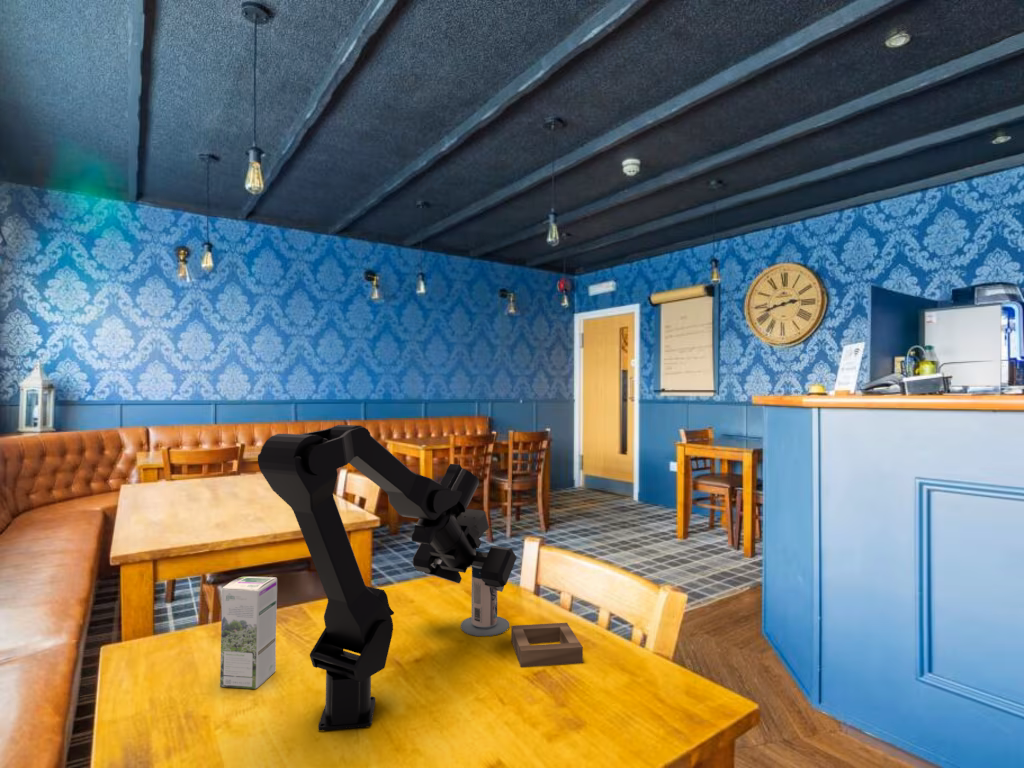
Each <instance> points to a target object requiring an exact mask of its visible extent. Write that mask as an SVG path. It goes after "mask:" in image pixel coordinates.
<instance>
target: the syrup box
mask: <svg viewBox="0 0 1024 768" xmlns="http://www.w3.org/2000/svg"><path fill="white" fill-rule="evenodd" d="M277 603H278V578H277V577H273V576H269V577H268V576H245V575H244V576H241V577H238V578H236V579H233V580H232V581H230V582H229V583H227V584H225V585H224V586H223V587H222V589H221V620H220V621H221V623H220V624H221V626H220V628H221V629H220V631H221V632H220V633H221V634H220V673H219V674H220V675H219V677H220V678H219V681H220V683H219V687H221V688H233V689H235V688H237V689H251V690H254V689H255V690H256V689H258V688H259V687H260V686H261V685H263V684H264V682H266V681H267V680H268V679H269V678H270V677H271V676H272V675H273V674H274V673H276V670H277V668H276V665H277V663H276V661H277V659H276V657H277V655H276V651H277V650H276V647H277V645H276V643H277V605H278V604H277Z"/></svg>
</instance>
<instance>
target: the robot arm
mask: <svg viewBox="0 0 1024 768" xmlns="http://www.w3.org/2000/svg"><path fill="white" fill-rule="evenodd" d="M257 464H258V468H259V471H260V473H261V474H262V476H263V477H264V479H265V480H266V482H267V484H268V485H269V487H270V489H271V490H272V491H273V492H274V493H275V494H276V495H278V497H280V499H282V501H284V502H285V503H286V504H287V505H288V506H289V508H290V509H291V510H292V511H293V514H294V517H295V518H296V522H297V524H298V526H299V527H298V528H299V529H300V531H301V534H302V537H303V539H304V542H305V544H306V547H307V549H308V553H309V554H310V557H311V559H312V562H313V565H314V568H315V570H316V573H317V574H318V578H319V580H320V583H321V586H322V587H323V590H324V593H325V595H326V599H327V603H326V607H325V611H324V614H323V620H324V625H325V628H323V629H324V630H323V631H322V633H321V635H320V636H319V638H318V639H317V641H316V642H315V644H314V646H313V648H312V649H311V651H310V653H309V658H310V660H311V663H312V668H316V669H317V668H318V669H321V670H325V705H324V708H323V710H322V714H321V717H320V719H319V722H318V726H317V727H318V728H317V729H318V730H319V731H331V730H334V731H335V730H343V729H344V730H345V729H354V728H356V729H357V728H367V727H368V728H369V727H370V726H372V723H373V717H374V712H375V705H376V697H375V696H371V695H372V694H371V691H372V689H371V688H372V676H374V675H376V674H377V673H379V672H380V671H382V670H384V669H385V668H386V664H387V660H388V655H389V650H390V646H391V642H392V637H393V631H394V622H393V617H392V616H394V614H395V612H394V610H393V609H391V606H390V603H389V597H388V595H387V593H386V590H385V589H381V588H376V587H372V586H368V585H366V584H365V581H364V578H363V576H362V572H361V569H360V567H359V565H358V562H357V558H356V556H355V553H354V550H353V548H352V544H351V541H350V539H349V536H348V533H347V530H346V528H345V525H344V523H343V519H342V517H341V514H340V511H339V509H338V506H337V503H336V501H335V498H334V491H335V487H336V483H337V480H338V476H339V474H338V469H340V468H343V467H344V466H348V464H349V465H351V466H352V467H353V468H355V470H357V471H358V472H360V473H361V474H362V475H364V476H365V477H366V478H368V479H369V480H370V481H371V482H373V483H374V484H375V485H376V486H378V487H379V488H380V489H381V490H383V492H385V493H386V494H387V497H388V503H389V504H390V505H391V506H392V507H393V509H394V510H395V511H396V513H397V514H398V515H399V516H401V517H403V518H405V517H406V518H412V519H418V521H417V522H416V524H415V525H414V527H413V528H414V529H413V532H412V533H411V542H414V543H419V545H418V548H417V550H416V551H415V553H414V555H413V557H412V566H413V567H414V568H415V569H416V571H418V572H421V573H424V574H427V575H429V576H434V577H437V578H439V579H443V580H447V581H449V582H453V583H456V584H460V583H461V581H462V579H463V578H462V577H461V576H462V575H461V574H460V573H464V574H465V573H466V572H467V570H468V568H469V567H470V566H471V567H472V565H473V566H479V567H482V569H481V579H482V581H483V582H485V585H486V586H488V587H491V588H493V589H495V590H497V592H502V593H503V591H504V588H505V586H506V585H507V583H508V580H509V579H510V577H511V576H510V575H511V574H512V571H513V568H514V565H515V563H516V560H517V555H516V554H515V552H514V551H513V548H511V547H506V546H505V547H504V546H500V545H499V546H497V545H493V546H490V549H489V551H488V552H485V551H477V549H480V547H481V544H482V541H481V539H480V538H481V537H482V536H483V535H484V534H485V532H486V531H488V530H489V529H490V528H489V527H490V525H489V521H488V517H487V513H486V511H485V510H481V509H472V508H468V506H469V504H470V503H471V501H472V498H473V497H474V495H475V493H476V490H477V488H478V486H479V485H480V480H479V478H478V476H477V475H475V474H473V472H471V471H470V470H468V469H466V468H464V467H462V466H461V464H457V463H450V464H449V465H448V467H447V469H446V471H445V474H444V476H443V478H442V479H441V482H438V481H436V480H434V479H433V478H430V477H428V476H425V475H422V474H419V473H416V472H414V471H412V470H411V469H410V468H409V467H408V466H406V465H405V464H404V463H403V462H402V461H401V460H400V459H398V458H397V457H396V456H395V455H394V454H393V453H391V451H390V450H389V449H387V448H386V447H385V446H384V445H382V444H381V443H380V442H379V441H378V440H377V439H375V438H374V437H373V436H372V435H371V432H370V431H369V429H368V428H365V427H364V426H362V425H356V424H355V425H353V424H336V425H334V426H332V427H328V428H324V429H321V430H316V431H311V432H305V433H301V434H298V433H297V434H296V433H277V434H274V435H271V436H270V437H269V438H267V439H266V441H265V442H264V444H263V445H262V447H261V450H260V452H259V454H258V455H257Z"/></svg>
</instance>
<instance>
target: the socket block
mask: <svg viewBox="0 0 1024 768" xmlns="http://www.w3.org/2000/svg"><path fill="white" fill-rule="evenodd" d="M510 631H511V632H510V633H511V634H510V635H511V636H510V637H511V638H510V641H511V644H512V646H513V650H514V653H515V654H516V657H517V661H518V663H519V665H520V668H527V667H528V668H529V667H542V666H556V665H557V666H559V665H571V664H574V665H575V664H583V663H584V662H583V661H584V658H583V657H584V653H583V651H584V649H583V645H582V644H581V642H580V640H579V639H578V638H577V636H576V634H575V632H574V631H573V630H572V628H571V627H570V625H569V624H568V622H555V623H538V624H536V623H535V624H520V625H519V624H518V625H517V624H516V625H511V629H510ZM558 642H559V643H558ZM544 643H545V644H544ZM547 643H548V644H547ZM531 644H532V645H531Z"/></svg>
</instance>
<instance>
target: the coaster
mask: <svg viewBox="0 0 1024 768" xmlns="http://www.w3.org/2000/svg"><path fill="white" fill-rule="evenodd" d="M508 628H509V629H510V622H509V621H508V620H507V619H506V618H504V617H501V616H498V615H497V624H496V625H494V626H493V627H491V628H487V629H481V628H477V627H476V626H474V625H473V624H472V616H471V617H468V618H465V619H464V620H462V621H461V623H460V630H461V629H462V630H461V631H462V632H463V631H464V632H463V633H464V634H467V635H468V636H469V635H470V636H474V637H480V636H484V637H485V636H489V637H494V636H493V635H496V636H499V635H498V634H500V635H502V634H504V633H503V632H505V631H506V630H507V629H508ZM509 629H508V630H509ZM508 630H507V631H508ZM507 631H506V632H507ZM506 632H505V633H506ZM501 633H502V634H501ZM484 637H483V638H484Z"/></svg>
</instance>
